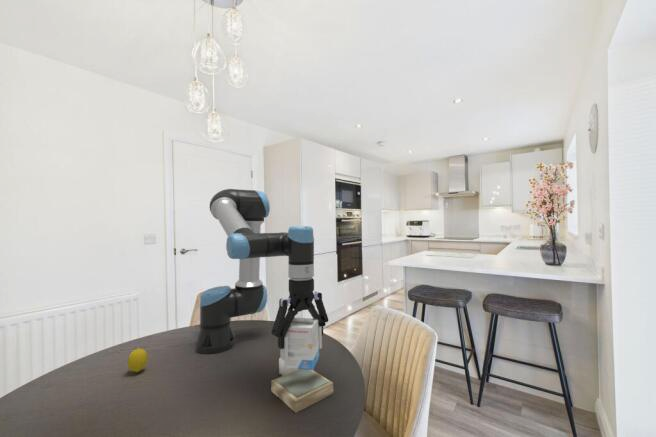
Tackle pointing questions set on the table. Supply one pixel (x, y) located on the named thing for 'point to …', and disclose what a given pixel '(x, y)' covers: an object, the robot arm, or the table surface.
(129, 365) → the lemon
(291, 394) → the oak picture frame
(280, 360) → the white domed cylinder
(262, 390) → the table surface
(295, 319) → the ink box
